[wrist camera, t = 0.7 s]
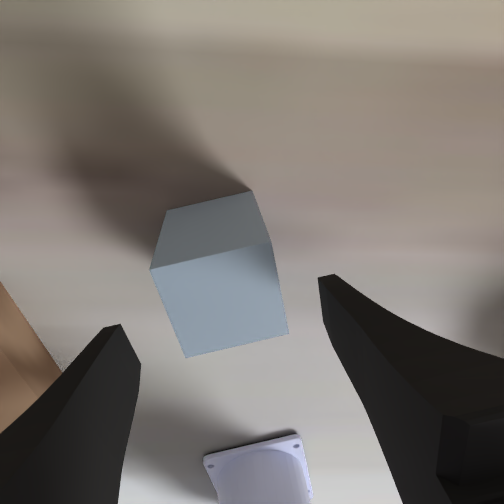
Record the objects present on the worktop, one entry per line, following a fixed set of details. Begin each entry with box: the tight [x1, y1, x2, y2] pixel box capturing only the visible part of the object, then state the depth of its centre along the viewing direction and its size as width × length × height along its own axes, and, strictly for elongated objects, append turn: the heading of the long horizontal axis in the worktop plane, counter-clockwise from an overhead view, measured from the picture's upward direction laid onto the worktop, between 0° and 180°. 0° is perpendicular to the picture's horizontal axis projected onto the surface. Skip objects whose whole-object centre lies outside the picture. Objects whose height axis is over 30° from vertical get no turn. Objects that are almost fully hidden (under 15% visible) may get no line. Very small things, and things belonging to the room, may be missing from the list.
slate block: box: [149, 191, 289, 358], centre depth 16 cm, size 4×4×6 cm
